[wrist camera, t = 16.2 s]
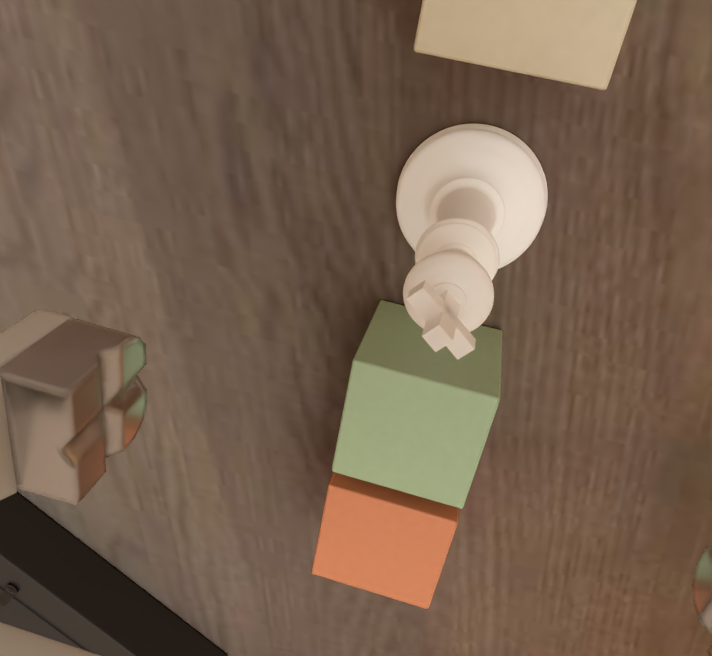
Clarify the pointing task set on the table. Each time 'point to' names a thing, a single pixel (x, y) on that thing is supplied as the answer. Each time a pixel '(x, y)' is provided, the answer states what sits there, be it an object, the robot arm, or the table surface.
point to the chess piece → (465, 225)
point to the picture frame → (80, 593)
